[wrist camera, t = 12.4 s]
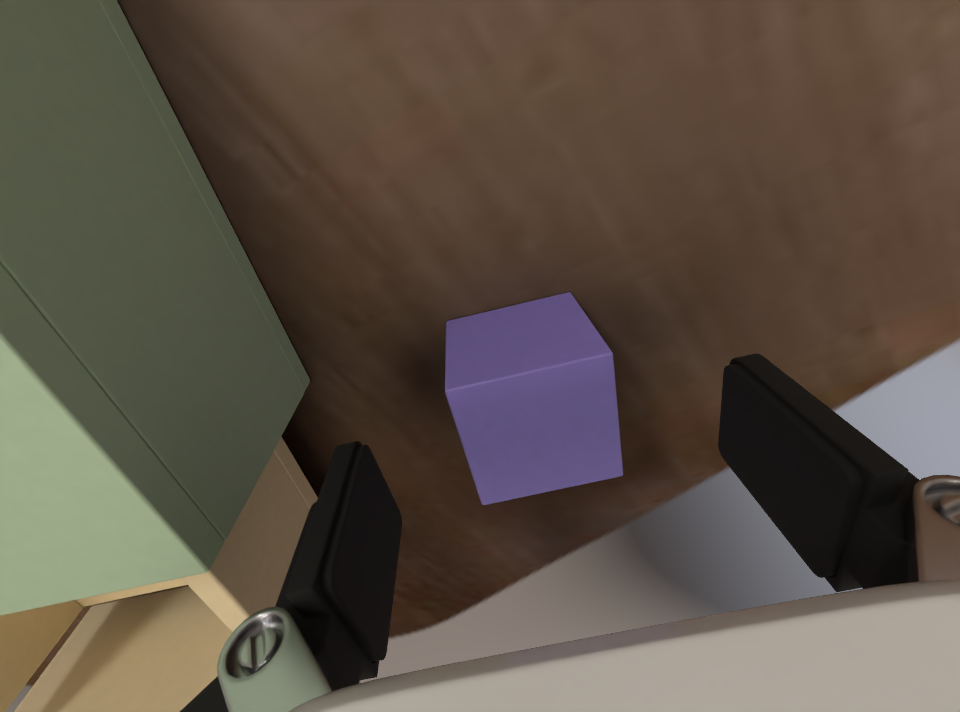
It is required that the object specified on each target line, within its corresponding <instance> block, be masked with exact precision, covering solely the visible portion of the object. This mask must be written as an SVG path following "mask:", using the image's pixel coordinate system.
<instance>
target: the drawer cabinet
mask: <svg viewBox="0 0 960 712" xmlns="http://www.w3.org/2000/svg"><path fill="white" fill-rule="evenodd" d="M309 383H310V379H309V377H308V375H307V373H306V371H305V369H304V367H303V365H302V363H301V361H300V359H299V357H298V355H297V353H296V351H295V349H294V348H293V346H292V344H291V342H290V340H289V338H288V336H287V334H286V332H285V330H284V328H283V326H282V324H281V322H280V320H279V318H278V316H277V314H276V312H275V310H274V308H273V306H272V304H271V302H270V300H269V298H268V296H267V294H266V293H265V291H264V289H263V287H262V285H261V283H260V281H259V279H258V277H257V275H256V273H255V271H254V269H253V267H252V265H251V263H250V261H249V259H248V257H247V255H246V253H245V251H244V249H243V247H242V245H241V243H240V241H239V239H238V237H237V236H236V234H235V232H234V230H233V228H232V226H231V224H230V222H229V220H228V218H227V216H226V214H225V212H224V210H223V208H222V206H221V204H220V202H219V200H218V198H217V196H216V194H215V192H214V190H213V188H212V186H211V184H210V182H209V181H208V179H207V177H206V175H205V173H204V171H203V169H202V167H201V165H200V163H199V161H198V159H197V157H196V155H195V153H194V151H193V149H192V147H191V145H190V143H189V141H188V139H187V137H186V135H185V133H184V131H183V129H182V127H181V126H180V124H179V122H178V120H177V118H176V116H175V114H174V112H173V110H172V108H171V106H170V104H169V102H168V100H167V98H166V96H165V94H164V92H163V90H162V88H161V86H160V84H159V82H158V80H157V78H156V76H155V74H154V72H153V71H152V69H151V67H150V65H149V63H148V61H147V59H146V57H145V55H144V53H143V51H142V49H141V47H140V45H139V43H138V41H137V39H136V37H135V35H134V33H133V31H132V29H131V27H130V25H129V23H128V21H127V19H126V17H125V16H124V14H123V12H122V10H121V8H120V6H119V4H118V2H117V0H0V616H1V615H6V614H11V613H16V612H21V611H25V610H30V609H35V608H40V607H44V606H49V605H54V604H59V603H63V602H68V601H73V600H78V599H83V598H87V597H92V596H97V595H102V594H106V593H111V592H116V591H121V590H125V589H130V588H135V587H140V586H145V585H149V584H154V583H159V582H164V581H168V580H173V579H178V578H183V577H187V576H192V575H197V574H202V573H206V572H208V571H209V570H210V568H211V566H212V565H213V563H214V561H215V559H216V557H217V555H218V553H219V551H220V550H221V548H222V546H223V544H224V540H226V539H227V537H228V536H229V534H230V532H231V530H232V528H233V526H234V524H235V522H236V521H237V519H238V517H239V515H240V513H241V511H242V509H243V507H244V506H245V504H246V502H247V500H248V498H249V496H250V494H251V492H252V491H253V489H254V487H255V485H256V483H257V481H258V479H259V477H260V476H261V474H262V472H263V470H264V468H265V466H266V464H267V462H268V461H269V459H270V457H271V455H272V453H273V451H274V449H275V447H276V446H277V444H278V442H279V440H280V438H281V436H282V434H283V432H284V431H285V429H286V427H287V425H288V423H289V421H290V419H291V417H292V416H293V414H294V412H295V410H296V408H297V406H298V404H299V402H300V401H301V399H302V397H303V395H304V392H305V390H306V388H307V387H308V385H309Z"/></svg>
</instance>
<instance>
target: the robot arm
mask: <svg viewBox="0 0 960 712" xmlns="http://www.w3.org/2000/svg"><path fill="white" fill-rule="evenodd" d="M718 446H719V451H720V453H721V455H722V457H723V459H724V460H725V461H726V463H727V464H728V465H729V467H730V468H731V469H732V470H733V472H734V473H735V474H736V475H737V477H738V478H739V479H740V480H741V482H742V483H743V484H744V486H745V487H746V488H747V489H748V491H749V492H750V493H751V494H752V496H753V497H754V498H755V500H756V501H757V502H758V503H759V504H760V506H761V507H762V508H763V510H764V511H765V512H766V513H767V515H768V516H769V517H770V518H771V520H772V521H773V522H774V524H775V525H776V526H777V527H778V529H779V530H780V531H781V533H782V534H783V535H784V536H785V538H786V539H787V540H788V541H789V543H790V544H791V545H792V546H793V548H794V549H795V550H796V552H797V553H798V554H799V555H800V556H801V558H802V559H803V560H804V562H805V563H806V564H807V566H808V567H809V568H810V569H811V570H812V572H813V573H814V574H816V575H817V576H818V577H821V578H822V577H825V578H826V580H827V581H828V582H829V583H830V585H831V586H832V587H833V588H834V590H835V591H836V592H840V591H845V590H851V589H855V588H861V587H862V588H863V589H861V590H854V591H849V592H842V593H835V594H829V595H823V596H817V597H811V598H805V599H799V600H793V601H788V602H782V603H777V604H772V605H766V606H760V607H754V608H749V609H743V610H738V611H732V612H727V613H721V614H716V615H710V616H704V617H699V618H694V619H688V620H682V621H677V622H672V623H666V624H660V625H655V626H650V627H644V628H639V629H633V630H628V631H622V632H617V633H611V634H606V635H601V636H595V637H590V638H585V639H580V640H574V641H569V642H563V643H558V644H553V645H547V646H542V647H536V648H531V649H526V650H521V651H516V652H510V653H505V654H500V655H495V656H490V657H484V658H479V659H474V660H469V661H463V662H458V663H453V664H448V665H442V666H437V667H433V668H428V669H423V670H418V671H414V672H409V673H404V674H400V675H395V676H390V677H385V678H380V679H376V680H372V681H368V682H364V683H360V684H359V681H360V680H364V679H368V678H374V677H377V673H378V665H379V660H384V658H385V656H386V652H387V645H388V637H389V628H390V620H391V611H392V603H393V595H394V586H395V578H396V569H397V561H398V553H399V544H400V536H401V527H402V518H401V513H400V511H399V508H398V506H397V504H396V502H395V500H394V498H393V496H392V494H391V492H390V490H389V487H388V485H387V483H386V481H385V479H384V477H383V475H382V473H381V471H380V469H379V467H378V464H377V462H376V460H375V458H374V456H373V454H372V452H371V450H370V448H369V446H367V445H364V446H362V444H361V443H360V442H358V441H357V442H352V443H347V444H343V445H338V446H337V447H336V448H335V450H334V453H333V456H332V459H331V462H330V464H329V467H328V470H327V473H326V476H325V479H324V482H323V485H322V488H321V491H320V493H319V496H318V499H317V502H315V503H314V504H313V505H312V506H311V508H310V510H309V513H308V516H307V518H306V521H305V524H304V527H303V530H302V532H301V535H300V538H299V541H298V544H297V546H296V549H295V552H294V555H293V558H292V561H291V563H290V566H289V569H288V572H287V575H286V577H285V580H284V583H283V586H282V589H281V591H280V594H279V597H278V600H277V603H276V606H275V607H268V608H265V609H262V610H260V611H257V612H255V613H254V614H252V615H251V616H250V617H248V618H247V619H245V620H244V621H243V622H242V623H241V624H240V625H239V626H238V627H237V628H236V629H235V630H234V631H233V633H232V634H231V635H230V637H229V638H228V639H227V641H226V642H225V644H224V646H223V648H222V650H221V652H220V655H219V659H218V663H217V674H218V676H217V677H216V678H215V679H214V680H213V681H212V682H211V683H210V684H209V685H207V686H206V687H205V688H204V689H203V690H202V691H201V692H200V693H199V694H198V695H197V696H196V697H195V698H194V699H193V700H192V701H190V702H189V703H188V704H187V705H186V706H185V707H184V708H183V709H182V710H181V711H180V712H960V477H958V476H951V475H934V476H930V477H926V478H923V479H921V480H919V479H917V478H916V477H915V476H913V475H912V474H911V473H910V472H908V469H907V468H905V467H904V466H903V465H902V464H900V463H899V462H898V461H896V460H895V459H894V458H893V457H891V456H890V455H889V454H887V453H886V452H885V451H883V450H882V449H881V448H880V447H878V446H877V445H876V444H875V443H873V442H872V441H871V440H869V439H868V438H867V437H866V436H864V435H863V434H862V433H861V432H859V431H858V430H857V429H855V428H854V427H853V426H852V425H850V424H849V423H848V422H846V421H845V420H844V419H842V418H841V417H840V416H839V415H837V414H836V413H835V412H834V411H832V410H831V409H830V408H828V407H827V406H826V405H825V404H823V403H822V402H821V401H820V400H818V399H817V398H816V397H814V396H813V395H812V394H811V393H809V392H808V391H807V390H805V389H804V388H803V387H802V386H800V385H799V384H798V383H796V382H795V381H794V380H793V379H791V378H790V377H789V376H787V375H786V374H785V373H784V372H782V371H781V370H780V369H779V368H777V367H776V366H775V365H773V364H772V363H771V362H770V361H768V360H767V359H766V358H764V357H763V356H762V355H760V354H751V355H747V356H742V357H738V358H734V359H732V360H731V361H730V365H728V366H726V367H725V368H724V374H723V388H722V401H721V415H720V429H719V443H718Z"/></svg>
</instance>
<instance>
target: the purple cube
mask: <svg viewBox="0 0 960 712" xmlns="http://www.w3.org/2000/svg"><path fill="white" fill-rule="evenodd" d="M445 394H446V397H447V400H448V403H449V406H450V409H451V412H452V415H453V418H454V421H455V424H456V427H457V430H458V433H459V436H460V439H461V442H462V445H463V449H464V452H465V455H466V458H467V461H468V464H469V467H470V470H471V473H472V476H473V479H474V482H475V485H476V488H477V491H478V494H479V497H480V501H481V504H482V505H487V504H492V503H497V502H501V501H506V500H511V499H516V498H520V497H525V496H530V495H535V494H539V493H544V492H549V491H554V490H558V489H563V488H568V487H573V486H577V485H582V484H587V483H591V482H596V481H601V480H606V479H610V478H615V477H620V476H623V465H622V453H621V441H620V430H619V418H618V406H617V395H616V383H615V371H614V360H613V353H612V351H611V350H610V348H609V347H608V345H607V344H606V343H605V341H604V340H603V338H602V337H601V335H600V334H599V333H598V331H597V330H596V328H595V327H594V325H593V324H592V323H591V321H590V320H589V318H588V317H587V315H586V314H585V313H584V311H583V310H582V308H581V307H580V305H579V304H578V303H577V301H576V300H575V298H574V297H573V295H572V294H571V292H568V293H564V294H559V295H555V296H551V297H547V298H542V299H538V300H534V301H530V302H526V303H521V304H517V305H513V306H509V307H505V308H500V309H496V310H492V311H488V312H483V313H479V314H475V315H471V316H467V317H462V318H458V319H454V320H450V321H447V322H446V360H445Z"/></svg>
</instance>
